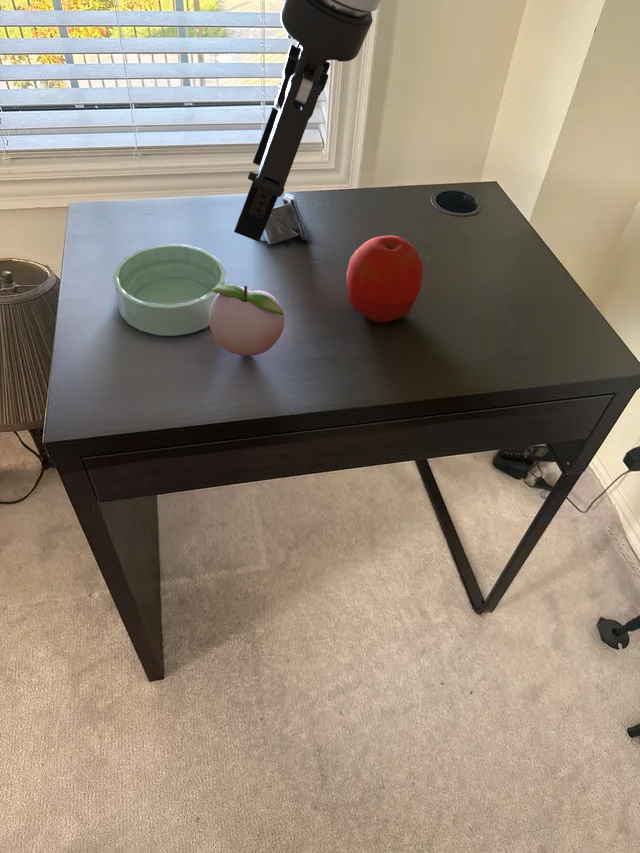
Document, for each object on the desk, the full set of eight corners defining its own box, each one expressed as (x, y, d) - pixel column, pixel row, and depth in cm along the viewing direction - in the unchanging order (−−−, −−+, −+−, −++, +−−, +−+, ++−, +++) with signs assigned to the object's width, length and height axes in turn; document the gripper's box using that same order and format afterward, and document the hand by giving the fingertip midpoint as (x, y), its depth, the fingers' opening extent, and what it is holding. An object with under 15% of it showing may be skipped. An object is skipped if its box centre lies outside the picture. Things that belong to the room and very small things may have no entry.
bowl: (127, 347, 81) (121, 315, 77) (113, 282, 90) (107, 251, 86) (237, 329, 84) (236, 298, 81) (214, 269, 93) (212, 239, 90)
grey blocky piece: (246, 211, 106) (241, 189, 94) (286, 196, 106) (286, 172, 94) (267, 266, 107) (265, 251, 95) (307, 251, 107) (310, 234, 95)
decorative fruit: (200, 367, 79) (193, 301, 72) (221, 327, 85) (217, 261, 77) (273, 382, 78) (275, 316, 71) (290, 340, 84) (292, 275, 76)
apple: (377, 281, 94) (388, 208, 86) (430, 314, 89) (447, 241, 81) (328, 308, 89) (335, 233, 80) (381, 344, 84) (395, 269, 76)
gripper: (372, 75, 47) (275, 283, 63) (377, -34, 63) (298, 154, 79) (277, 28, 45) (201, 255, 61) (307, -72, 61) (240, 128, 77)
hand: (256, 198), depth 70 cm, fingers open, 13 cm apart
